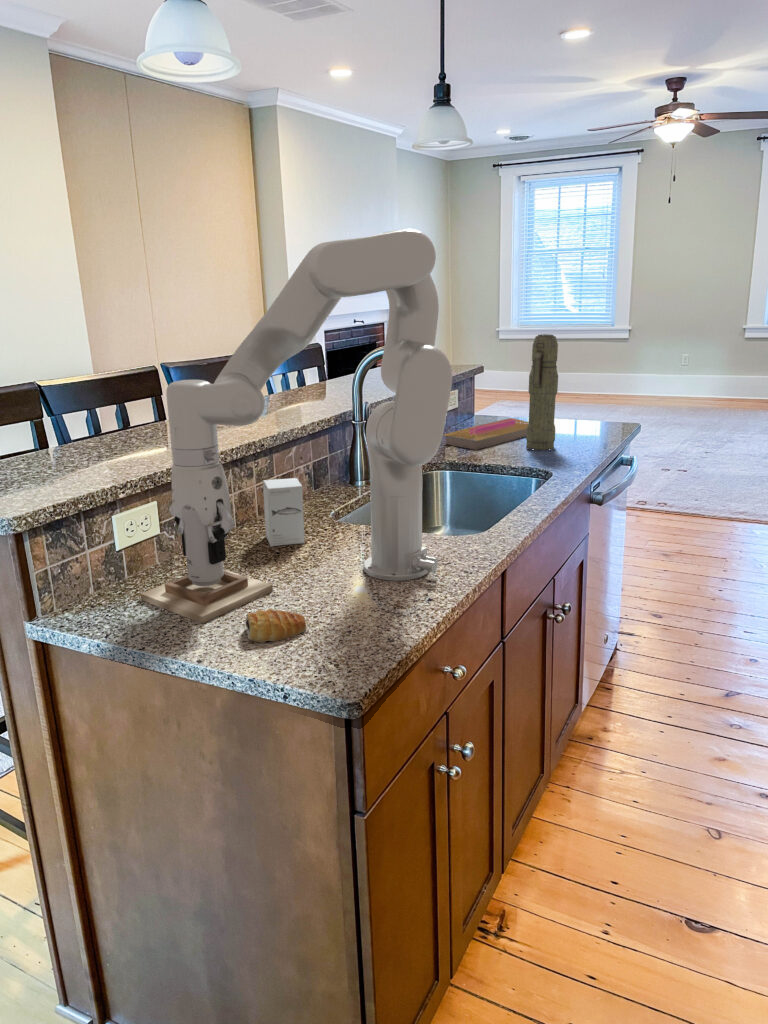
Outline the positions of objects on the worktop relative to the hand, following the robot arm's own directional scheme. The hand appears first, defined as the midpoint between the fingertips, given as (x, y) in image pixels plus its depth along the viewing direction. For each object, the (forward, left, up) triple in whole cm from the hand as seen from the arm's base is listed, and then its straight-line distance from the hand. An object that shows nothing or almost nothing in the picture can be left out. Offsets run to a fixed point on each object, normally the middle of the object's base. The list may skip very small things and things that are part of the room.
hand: (204, 557), depth 131 cm
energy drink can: (0, 0, -5) cm, 5 cm away
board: (0, 0, -7) cm, 7 cm away
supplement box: (+9, -29, -7) cm, 31 cm away
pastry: (-19, +4, -8) cm, 21 cm away
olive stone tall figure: (+3, -139, -7) cm, 139 cm away
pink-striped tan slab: (+22, -143, -8) cm, 145 cm away
